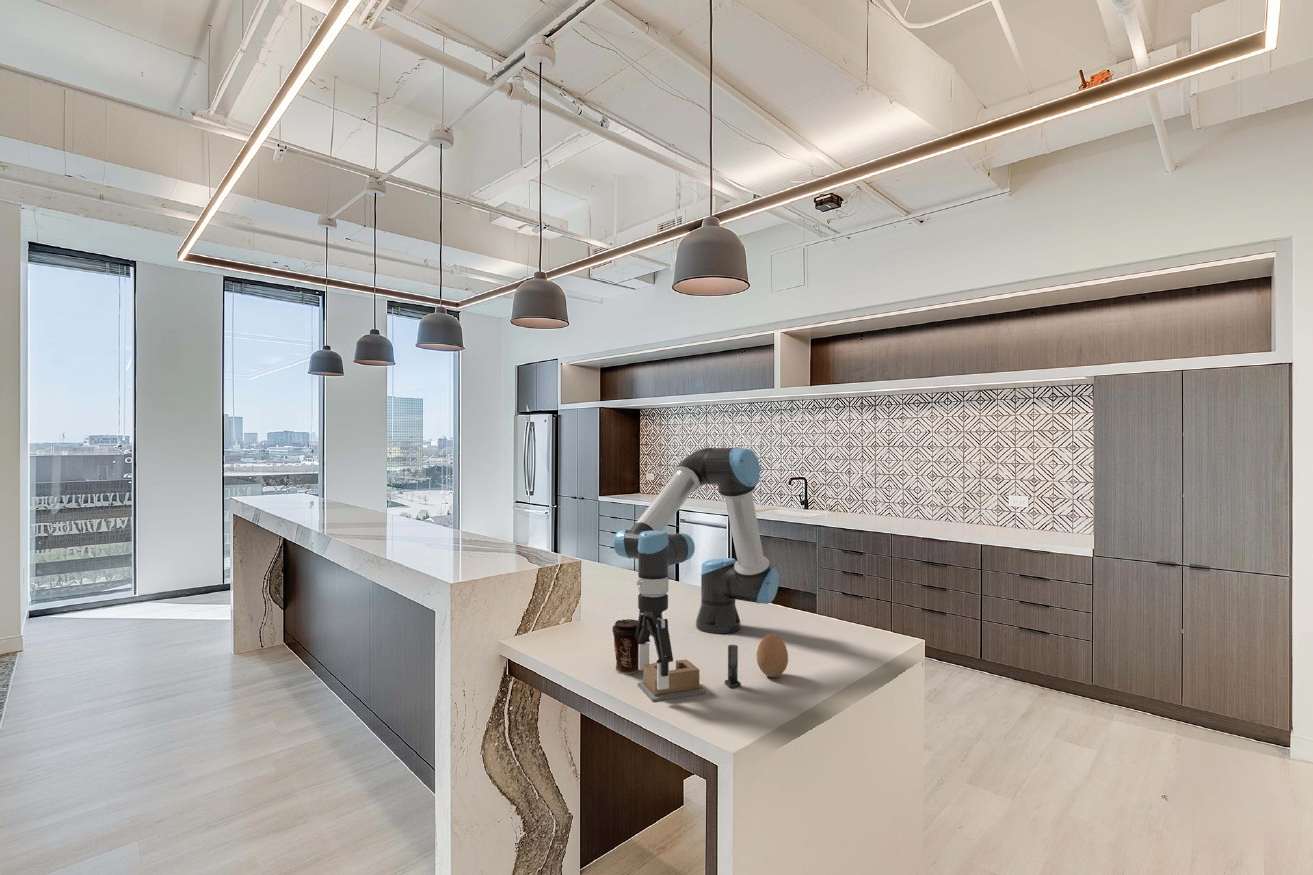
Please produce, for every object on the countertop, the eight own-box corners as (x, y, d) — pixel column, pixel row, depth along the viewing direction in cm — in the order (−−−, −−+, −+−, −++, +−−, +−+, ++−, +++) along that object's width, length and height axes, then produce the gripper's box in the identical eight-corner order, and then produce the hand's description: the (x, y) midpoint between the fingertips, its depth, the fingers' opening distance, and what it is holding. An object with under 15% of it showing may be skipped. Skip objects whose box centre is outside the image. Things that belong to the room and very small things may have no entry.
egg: (753, 671, 168) (753, 629, 168) (783, 670, 169) (783, 629, 169) (760, 682, 160) (760, 639, 160) (791, 681, 160) (792, 638, 161)
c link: (686, 678, 161) (686, 659, 161) (699, 689, 153) (699, 669, 153) (643, 684, 156) (643, 664, 156) (654, 696, 149) (654, 675, 149)
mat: (687, 678, 162) (687, 675, 162) (705, 693, 152) (705, 691, 152) (637, 685, 157) (637, 682, 157) (652, 701, 147) (652, 699, 147)
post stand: (735, 682, 160) (735, 643, 160) (740, 686, 157) (740, 647, 157) (724, 683, 158) (725, 645, 159) (730, 688, 156) (730, 648, 156)
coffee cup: (611, 664, 172) (612, 618, 173) (641, 663, 173) (641, 617, 173) (612, 675, 164) (612, 626, 164) (643, 675, 164) (643, 626, 165)
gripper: (623, 584, 164) (623, 663, 164) (656, 607, 140) (656, 699, 140) (649, 581, 166) (649, 660, 166) (686, 604, 143) (686, 695, 143)
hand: (653, 678), depth 153 cm, fingers open, 13 cm apart
